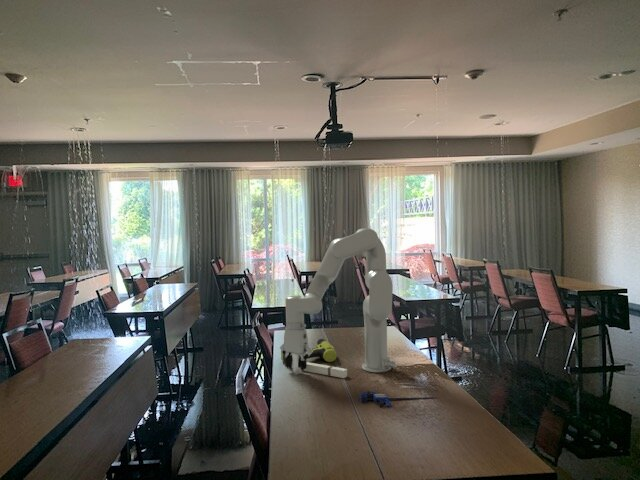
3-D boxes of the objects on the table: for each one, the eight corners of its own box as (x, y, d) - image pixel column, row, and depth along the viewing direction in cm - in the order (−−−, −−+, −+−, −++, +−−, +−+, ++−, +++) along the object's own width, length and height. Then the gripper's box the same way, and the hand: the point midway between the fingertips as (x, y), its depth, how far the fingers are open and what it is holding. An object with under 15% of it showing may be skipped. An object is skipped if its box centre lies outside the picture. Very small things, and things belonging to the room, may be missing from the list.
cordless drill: (277, 351, 216) (326, 347, 221) (284, 369, 192) (339, 364, 197) (277, 337, 216) (326, 334, 221) (283, 353, 192) (339, 348, 197)
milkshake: (295, 370, 188) (295, 346, 188) (305, 372, 185) (304, 348, 185) (288, 372, 185) (287, 349, 185) (297, 375, 182) (297, 351, 181)
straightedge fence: (347, 376, 179) (347, 368, 179) (344, 378, 177) (343, 370, 177) (295, 366, 193) (294, 359, 193) (291, 368, 191) (291, 361, 190)
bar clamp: (362, 402, 147) (358, 391, 157) (362, 409, 147) (358, 398, 157) (457, 401, 149) (447, 390, 159) (457, 408, 149) (446, 396, 159)
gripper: (317, 325, 183) (318, 368, 183) (283, 321, 192) (285, 362, 193) (307, 329, 177) (308, 373, 177) (273, 325, 186) (274, 367, 186)
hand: (296, 367), depth 185 cm, fingers open, 6 cm apart
